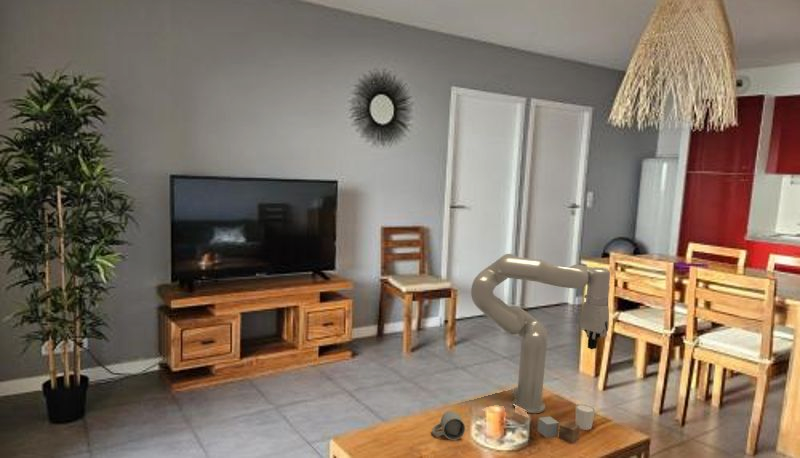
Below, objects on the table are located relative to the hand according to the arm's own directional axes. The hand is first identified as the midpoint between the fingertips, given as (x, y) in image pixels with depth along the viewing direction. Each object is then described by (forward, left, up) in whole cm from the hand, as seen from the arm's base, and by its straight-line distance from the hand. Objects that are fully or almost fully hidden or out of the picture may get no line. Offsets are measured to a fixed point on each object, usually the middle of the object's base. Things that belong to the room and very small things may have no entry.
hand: (591, 348), depth 204 cm
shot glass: (+5, -7, -27) cm, 29 cm away
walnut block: (+9, -20, -27) cm, 35 cm away
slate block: (+3, -24, -27) cm, 36 cm away
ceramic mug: (-12, -57, -27) cm, 64 cm away
